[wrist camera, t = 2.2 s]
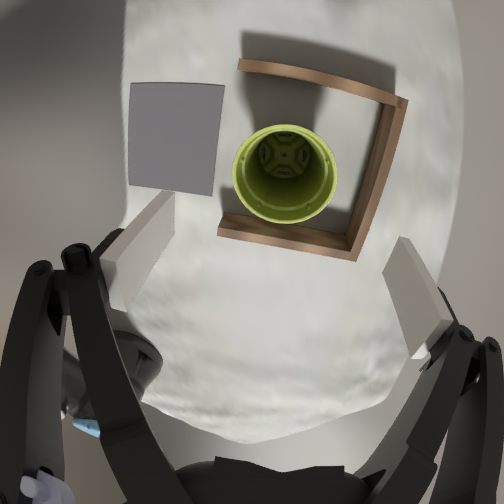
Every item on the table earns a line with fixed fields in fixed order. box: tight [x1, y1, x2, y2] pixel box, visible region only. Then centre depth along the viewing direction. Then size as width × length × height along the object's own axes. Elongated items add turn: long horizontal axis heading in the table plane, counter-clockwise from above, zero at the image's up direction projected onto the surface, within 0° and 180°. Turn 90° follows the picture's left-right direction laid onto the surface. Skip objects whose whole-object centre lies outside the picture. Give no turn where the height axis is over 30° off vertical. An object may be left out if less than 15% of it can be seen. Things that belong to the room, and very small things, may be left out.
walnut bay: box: [217, 58, 408, 262], centre depth 29 cm, size 17×20×4 cm
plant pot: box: [232, 124, 338, 224], centre depth 27 cm, size 9×9×9 cm
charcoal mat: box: [128, 83, 225, 196], centre depth 31 cm, size 12×14×1 cm
